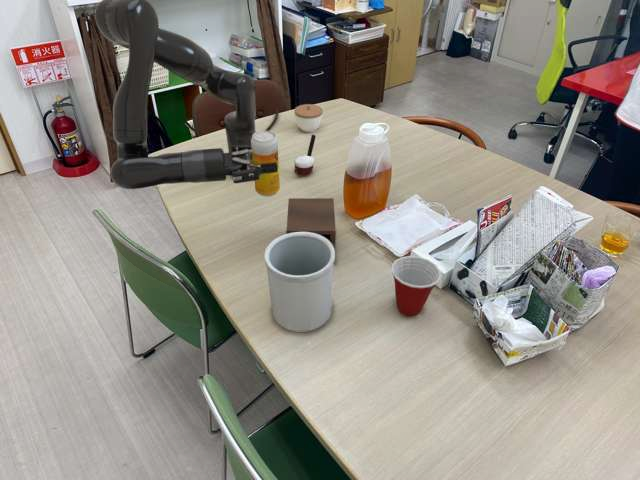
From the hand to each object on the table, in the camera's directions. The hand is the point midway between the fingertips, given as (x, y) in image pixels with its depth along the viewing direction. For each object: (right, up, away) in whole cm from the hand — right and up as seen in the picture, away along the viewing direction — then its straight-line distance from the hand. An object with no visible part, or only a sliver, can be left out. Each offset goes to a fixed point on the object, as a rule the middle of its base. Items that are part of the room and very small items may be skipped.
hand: (275, 160), depth 110 cm
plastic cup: (+32, -35, -1) cm, 47 cm away
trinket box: (+6, +24, +70) cm, 74 cm away
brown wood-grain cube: (+8, -21, +15) cm, 27 cm away
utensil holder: (+6, -35, -2) cm, 36 cm away
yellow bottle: (-2, -7, +5) cm, 9 cm away
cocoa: (+6, +3, +45) cm, 45 cm away
